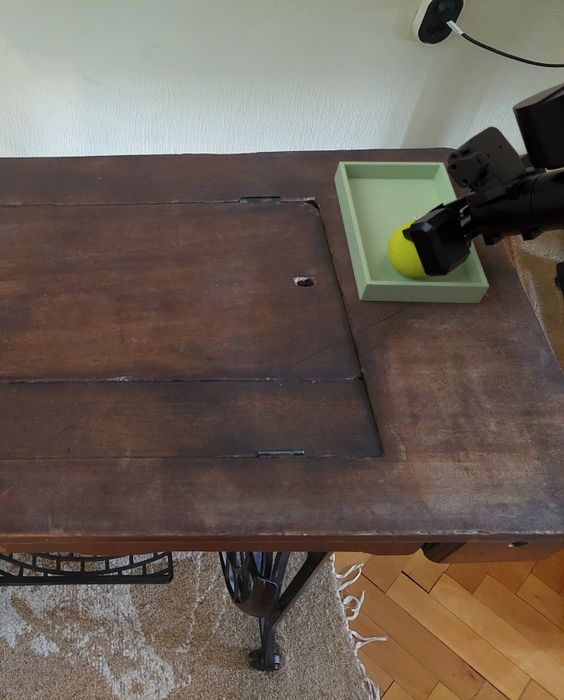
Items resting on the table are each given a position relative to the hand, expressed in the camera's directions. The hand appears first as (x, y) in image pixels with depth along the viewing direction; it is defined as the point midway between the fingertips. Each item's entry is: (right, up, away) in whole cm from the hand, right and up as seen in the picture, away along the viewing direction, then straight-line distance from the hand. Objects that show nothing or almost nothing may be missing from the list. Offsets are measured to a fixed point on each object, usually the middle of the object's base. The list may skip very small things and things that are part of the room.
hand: (417, 224), depth 78 cm
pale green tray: (+2, 0, +9) cm, 9 cm away
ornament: (+1, -5, +5) cm, 7 cm away
